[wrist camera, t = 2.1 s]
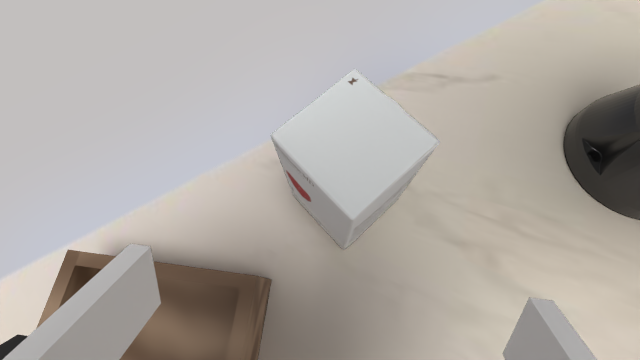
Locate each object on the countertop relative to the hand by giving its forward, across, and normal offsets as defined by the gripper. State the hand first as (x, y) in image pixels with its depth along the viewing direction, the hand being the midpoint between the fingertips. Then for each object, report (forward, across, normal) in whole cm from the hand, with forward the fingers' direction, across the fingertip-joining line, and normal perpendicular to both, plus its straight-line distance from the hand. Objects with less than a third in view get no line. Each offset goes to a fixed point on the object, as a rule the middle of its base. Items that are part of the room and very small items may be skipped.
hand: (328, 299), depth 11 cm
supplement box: (+24, +1, -8) cm, 26 cm away
